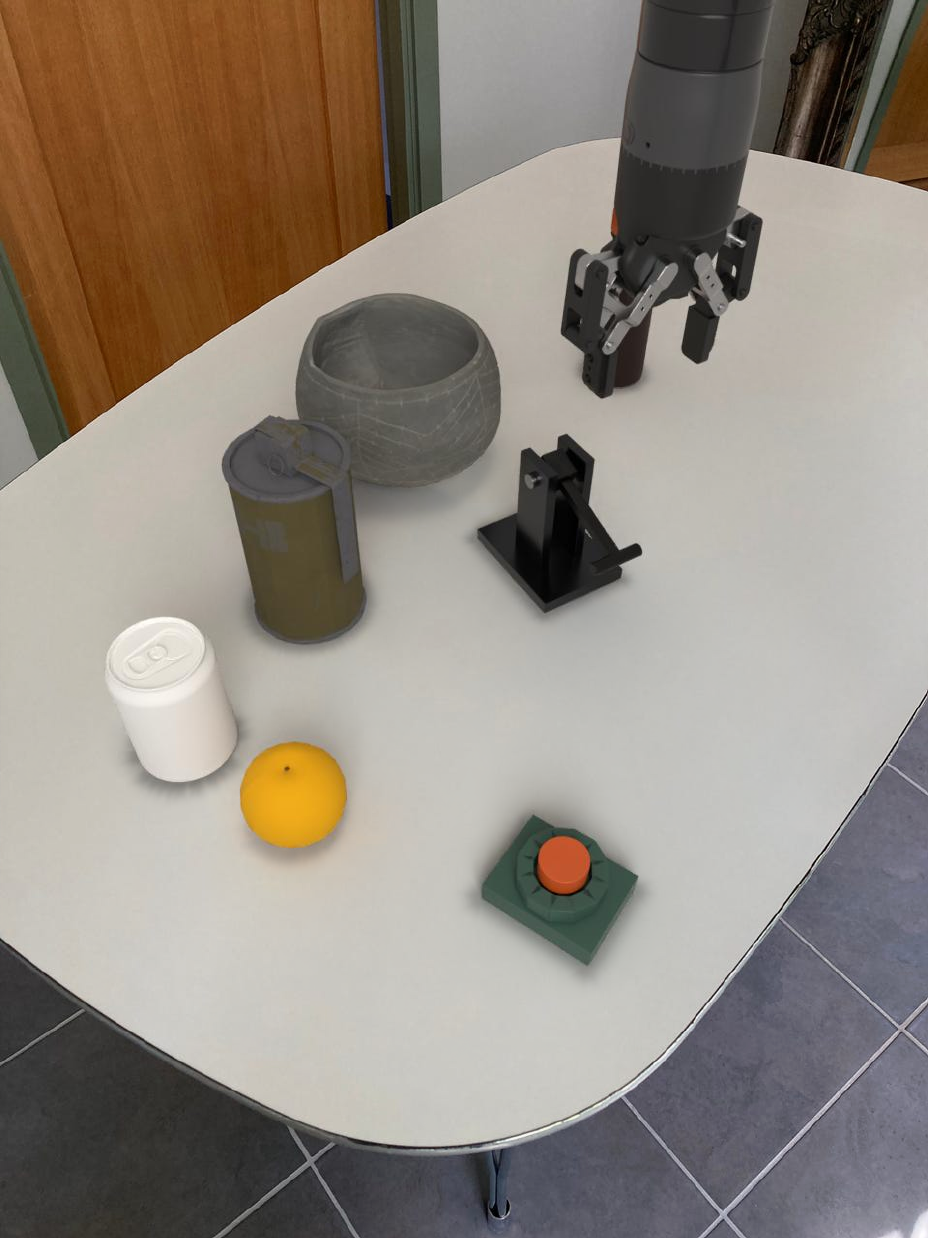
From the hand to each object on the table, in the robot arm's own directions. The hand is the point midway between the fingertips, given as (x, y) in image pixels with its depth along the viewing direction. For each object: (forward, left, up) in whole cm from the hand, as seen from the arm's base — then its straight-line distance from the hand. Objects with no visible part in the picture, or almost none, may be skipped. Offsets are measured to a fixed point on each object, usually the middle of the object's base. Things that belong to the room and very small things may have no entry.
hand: (647, 374), depth 68 cm
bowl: (+30, -9, -27) cm, 42 cm away
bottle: (+19, -37, -27) cm, 50 cm away
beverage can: (+22, +31, -27) cm, 47 cm away
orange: (+10, +31, -27) cm, 43 cm away
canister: (+24, +13, -27) cm, 39 cm away
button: (-10, +25, -24) cm, 36 cm away
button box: (-10, +25, -27) cm, 38 cm away
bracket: (+9, -5, -27) cm, 29 cm away
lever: (+5, -3, -19) cm, 20 cm away
